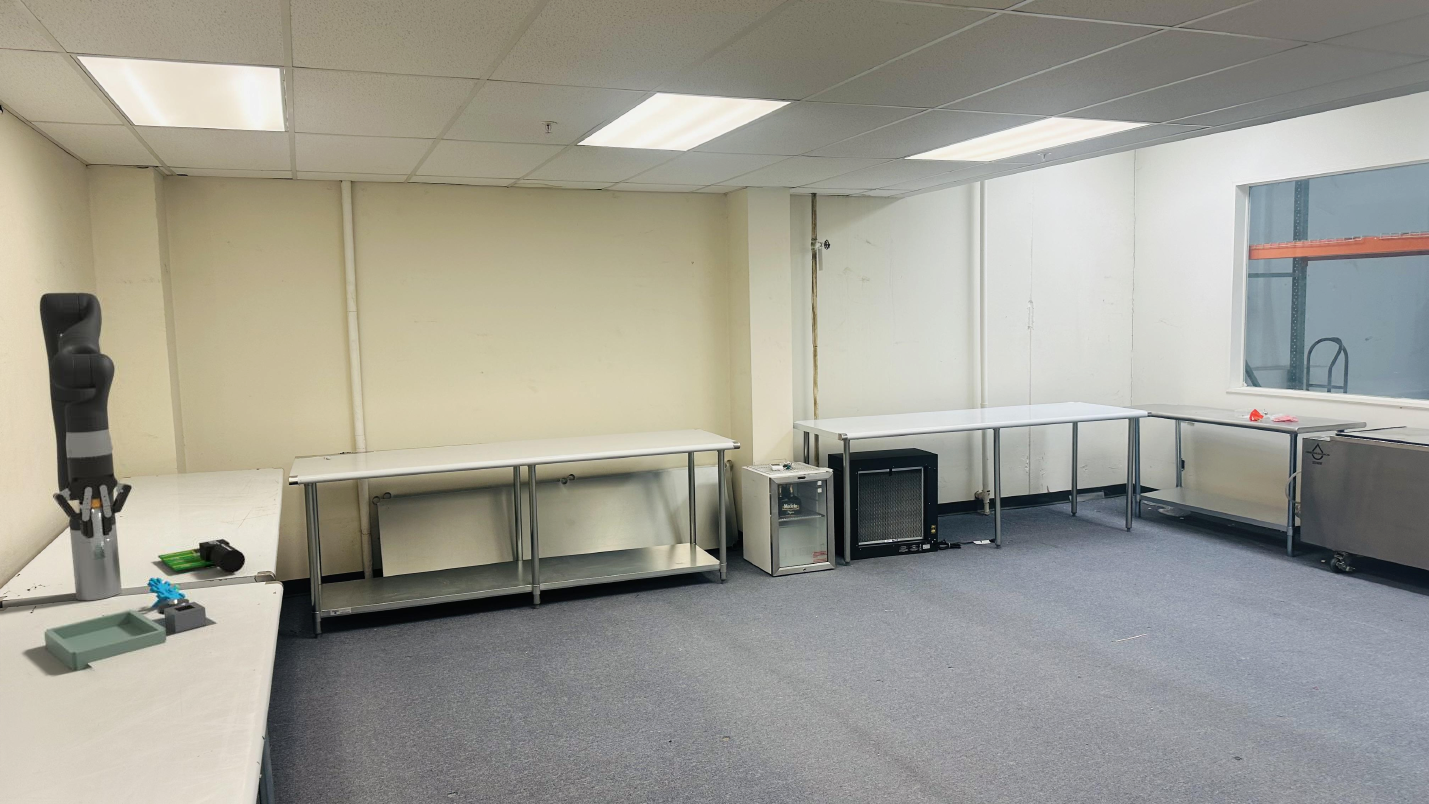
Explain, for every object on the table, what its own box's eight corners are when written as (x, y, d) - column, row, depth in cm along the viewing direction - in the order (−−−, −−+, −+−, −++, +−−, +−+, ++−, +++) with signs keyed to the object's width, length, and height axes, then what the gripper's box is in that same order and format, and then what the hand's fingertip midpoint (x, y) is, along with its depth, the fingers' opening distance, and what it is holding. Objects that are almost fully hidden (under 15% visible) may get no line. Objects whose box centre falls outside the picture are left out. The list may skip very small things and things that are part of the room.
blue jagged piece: (179, 607, 202) (144, 578, 201) (159, 627, 201) (124, 598, 200) (198, 598, 213) (165, 571, 212) (179, 617, 212) (146, 590, 211)
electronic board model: (156, 537, 245) (216, 527, 256) (158, 561, 246) (218, 550, 257) (184, 558, 224) (249, 546, 234) (186, 584, 225) (251, 571, 235)
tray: (44, 646, 183) (42, 630, 183) (134, 624, 196) (133, 609, 196) (74, 671, 170) (72, 654, 170) (168, 646, 183) (167, 629, 182)
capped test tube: (90, 558, 181) (84, 498, 180) (104, 555, 183) (99, 496, 182) (93, 560, 179) (88, 499, 178) (108, 557, 181) (103, 497, 180)
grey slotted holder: (144, 627, 194) (142, 602, 194) (194, 614, 202) (192, 591, 201) (166, 640, 186) (164, 615, 185) (217, 627, 193) (215, 603, 193)
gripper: (123, 446, 187) (129, 527, 188) (42, 455, 176) (50, 540, 178) (135, 449, 182) (142, 532, 184) (53, 459, 171) (61, 546, 173)
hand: (96, 536), depth 181 cm, fingers closed on capped test tube, 2 cm apart
